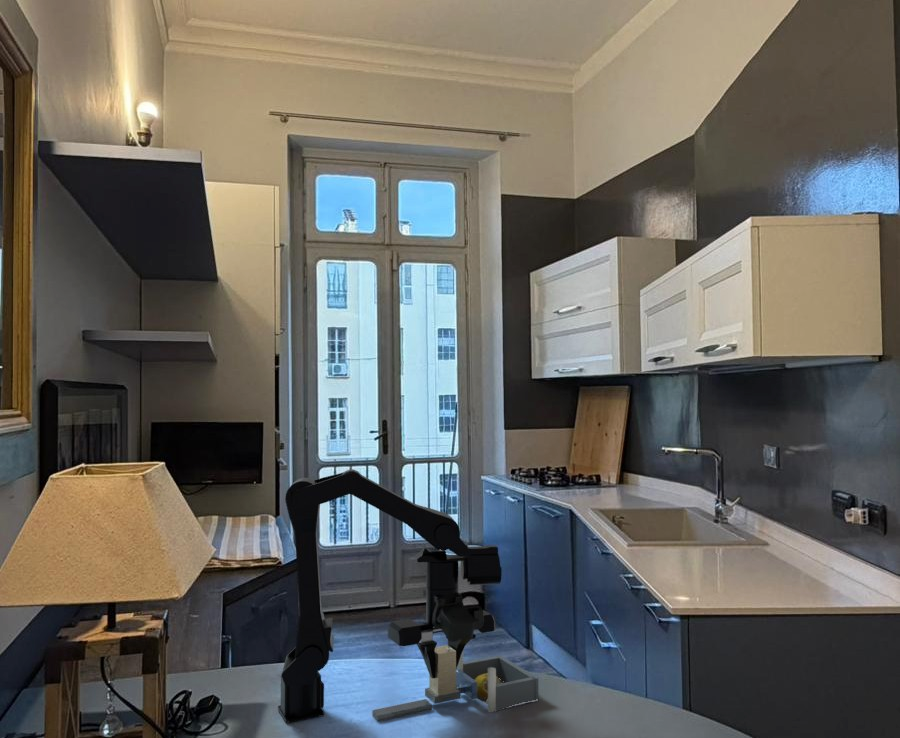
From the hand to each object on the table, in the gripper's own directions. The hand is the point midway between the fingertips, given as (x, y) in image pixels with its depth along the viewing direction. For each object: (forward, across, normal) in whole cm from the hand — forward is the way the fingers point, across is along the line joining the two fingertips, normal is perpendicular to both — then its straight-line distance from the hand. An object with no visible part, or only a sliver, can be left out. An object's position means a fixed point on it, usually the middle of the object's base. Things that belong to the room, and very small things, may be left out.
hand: (442, 675), depth 124 cm
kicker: (+4, +1, 0) cm, 4 cm away
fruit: (+6, +10, -2) cm, 11 cm away
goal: (+5, +11, 0) cm, 12 cm away
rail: (+5, -8, 0) cm, 9 cm away
